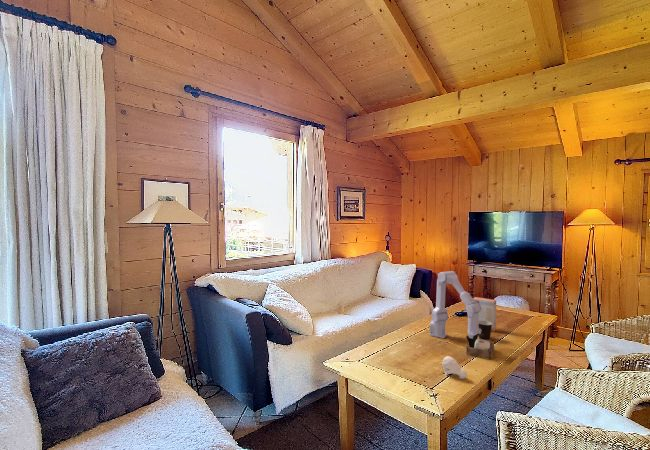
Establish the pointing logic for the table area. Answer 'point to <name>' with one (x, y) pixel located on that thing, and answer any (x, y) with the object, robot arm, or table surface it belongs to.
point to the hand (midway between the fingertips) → (472, 346)
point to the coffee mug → (485, 330)
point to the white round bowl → (482, 344)
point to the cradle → (481, 352)
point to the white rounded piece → (453, 367)
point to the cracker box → (487, 311)
